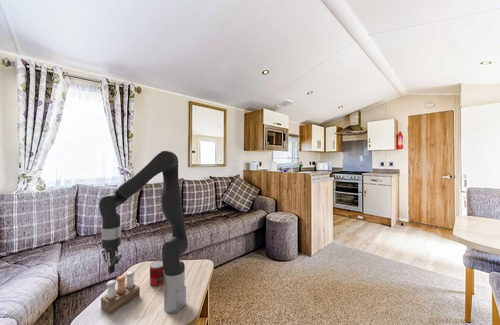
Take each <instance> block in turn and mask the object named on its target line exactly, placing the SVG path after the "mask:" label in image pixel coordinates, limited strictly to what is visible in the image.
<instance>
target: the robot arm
mask: <svg viewBox="0 0 500 325" xmlns="http://www.w3.org/2000/svg"><path fill="white" fill-rule="evenodd" d="M160 173H162V180H163V182H162V189H161V196H160V198H161V199H160V201H161V202H160V203H161V211H162V213H163V216H164V218H165V219H166V220H167V221H168V223H169V225H170V227H171V234H172V237H171V238H169V239H168V240H165V242H163V244H162V249H161V256H162V257H161V261H162V263H163V268H164V283H163V285H164V288H163V290H164V291H163V293H164V294H163V295H164V296H163V305H164V306H163V308H164V309H163V310H164V311H165V312H166V313H170V314H173V313H175V314H178V313H179V312H180V311H181V310H182V309H183V308H185V307H186V305H187V286H186V285H185V282H186V281H185V278H186V273H185V270H186V269H185V268H186V267H185V266H186V265H185V263H184V262H183V261H181V260H180V256H182V255H183V254H185V252H186V251H187V250H188V248H189V241H188V236H187V231H186V226H185V220H184V211H183V202H182V193H181V186H180V181H179V158H178V155H177V154H176V153H174V152H173V151H169V150H162V151H159V152H158V153H157V154H156V155H155V156H154V157H153V158H152V159H151V160H150V161H149V162H148V163H147V164H146V165H145V166H144V167H143V168H142V169H140V170H139V171H138V172H137V173H135V174H134V175H133V176H131V177H130V178H128V179H127V180H125V182H123V183H122V184H120V185H119V186H118V188H117V189H115V191H114V192H112V193H110V194H106V195H104V196H103V197H101V199H100V200H99V204H98V208H99V209H98V210H99V212H100V216H101V219H102V222H101V224H102V230H101V248H102V249H103V250H101V254H102V257H103V259H104V263H106V265H107V269H108V270H107V272H108V274H110V275H111V274H113V273H115V270H116V268H115V267H116V265H117V264H119V262H120V260H121V258H122V254H119V246H121V244H122V227H121V215H120V213H118V212H117V208H118V207H120V206H121V205H123V204H124V203H126V201H127V200H128V199H129V198H131V197H132V196H134V195H136V193H138V192H139V191H140V190H141V189H143V188H144V187H145V186H146V185H147V183H149V182H150V181H151V180H152V179H154V177H156V176H157V175H159V174H160Z"/></svg>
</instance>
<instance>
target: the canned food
mask: <svg viewBox="0 0 500 325" xmlns="http://www.w3.org/2000/svg"><path fill="white" fill-rule="evenodd" d="M149 285H150V286H151V287H153V288H156V287H160V286H162V285H164V268H163V263H162V260H155V261H153V262H151V263H150V264H149Z"/></svg>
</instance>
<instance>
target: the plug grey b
mask: <svg viewBox="0 0 500 325" xmlns="http://www.w3.org/2000/svg"><path fill="white" fill-rule="evenodd" d="M125 276H126V284H127V289H128V290H130V289H132V288H133V287H134V284H135V283H134V280H135V279H134V276H135V271H134V270H130V271H127V272H126V273H125Z"/></svg>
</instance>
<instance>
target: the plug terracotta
mask: <svg viewBox="0 0 500 325" xmlns="http://www.w3.org/2000/svg"><path fill="white" fill-rule="evenodd" d="M126 280H127V276H126V274H125V275H122V274H121V275H119V276H117V277H116V282H117V289H118V295H121V294H123V293H125V285H126V283H125V282H126Z"/></svg>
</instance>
